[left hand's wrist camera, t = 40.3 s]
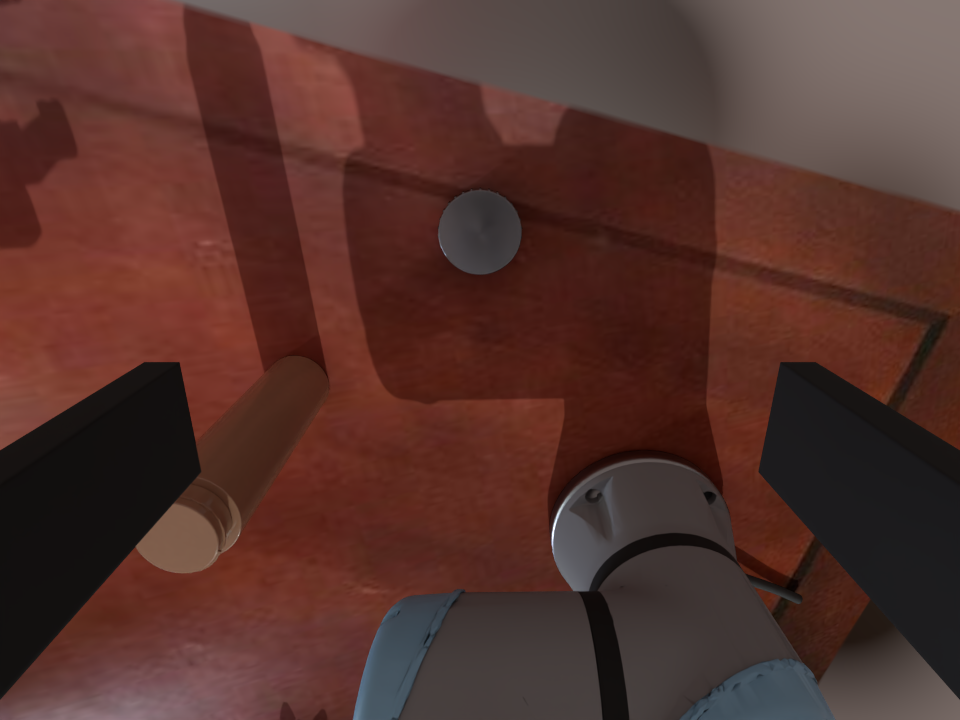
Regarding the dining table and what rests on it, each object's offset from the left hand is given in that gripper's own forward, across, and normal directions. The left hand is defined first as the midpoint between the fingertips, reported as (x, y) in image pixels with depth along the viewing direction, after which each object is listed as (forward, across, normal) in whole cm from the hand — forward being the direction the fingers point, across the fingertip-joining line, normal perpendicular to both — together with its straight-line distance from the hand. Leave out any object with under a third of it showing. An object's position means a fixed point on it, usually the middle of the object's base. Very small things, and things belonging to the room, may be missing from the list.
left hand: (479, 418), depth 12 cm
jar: (+30, +15, +12) cm, 35 cm away
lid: (+28, 0, 0) cm, 28 cm away
